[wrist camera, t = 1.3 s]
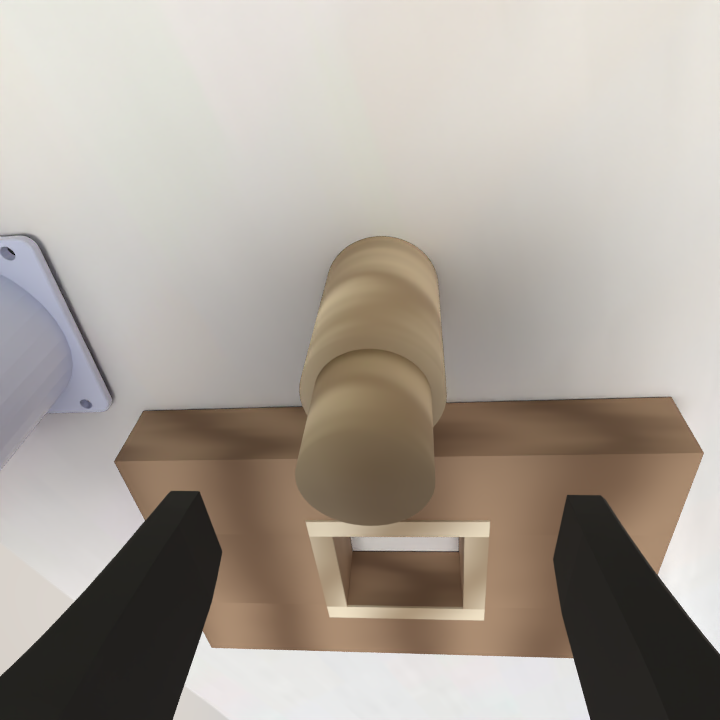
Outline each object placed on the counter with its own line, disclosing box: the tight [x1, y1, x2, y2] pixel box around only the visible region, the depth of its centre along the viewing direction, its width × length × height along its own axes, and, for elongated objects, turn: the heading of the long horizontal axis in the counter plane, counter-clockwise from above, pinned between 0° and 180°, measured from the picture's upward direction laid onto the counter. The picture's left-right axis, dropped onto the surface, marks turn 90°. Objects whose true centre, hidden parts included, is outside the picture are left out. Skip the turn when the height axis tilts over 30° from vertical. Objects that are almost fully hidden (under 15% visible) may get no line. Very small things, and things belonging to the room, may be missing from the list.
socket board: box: [114, 397, 704, 658], centre depth 26 cm, size 22×15×3 cm
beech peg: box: [295, 236, 447, 526], centre depth 16 cm, size 4×4×9 cm
